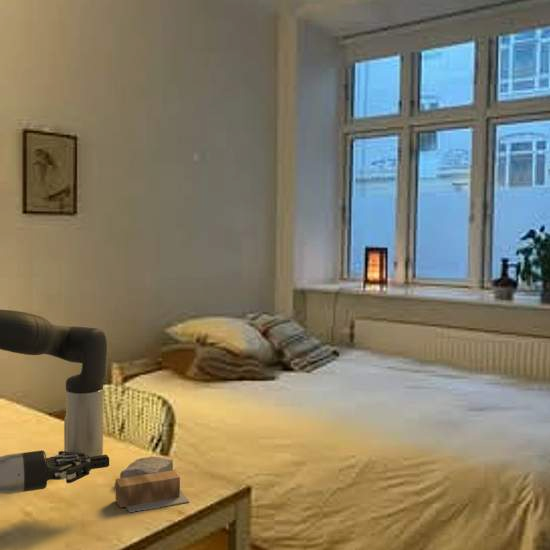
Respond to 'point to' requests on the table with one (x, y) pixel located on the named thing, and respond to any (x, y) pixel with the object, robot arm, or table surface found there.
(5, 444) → the table surface
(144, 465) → the stone block
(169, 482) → the walnut block
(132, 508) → the felt pad
